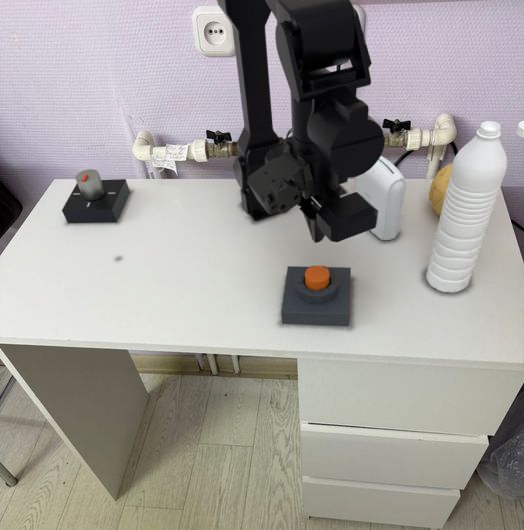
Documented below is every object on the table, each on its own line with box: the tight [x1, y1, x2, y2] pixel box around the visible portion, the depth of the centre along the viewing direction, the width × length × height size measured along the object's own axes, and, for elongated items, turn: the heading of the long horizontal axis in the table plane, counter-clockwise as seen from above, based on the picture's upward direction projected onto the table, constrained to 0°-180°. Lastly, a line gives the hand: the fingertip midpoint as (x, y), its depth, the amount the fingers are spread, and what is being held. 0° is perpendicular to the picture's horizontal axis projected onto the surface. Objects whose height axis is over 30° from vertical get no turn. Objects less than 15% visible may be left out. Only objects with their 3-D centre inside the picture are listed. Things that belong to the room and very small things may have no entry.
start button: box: [305, 265, 329, 290], centre depth 74 cm, size 4×4×2 cm
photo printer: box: [353, 155, 407, 241], centre depth 83 cm, size 10×4×12 cm, turn 26°
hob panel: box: [61, 178, 131, 224], centre depth 97 cm, size 10×10×3 cm
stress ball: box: [427, 162, 453, 217], centre depth 84 cm, size 10×10×10 cm
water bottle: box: [425, 120, 524, 294], centre depth 68 cm, size 9×6×25 cm
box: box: [280, 265, 352, 327], centre depth 76 cm, size 10×10×4 cm
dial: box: [75, 168, 105, 201], centre depth 94 cm, size 4×4×4 cm
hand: (317, 240), depth 68 cm, fingers closed
